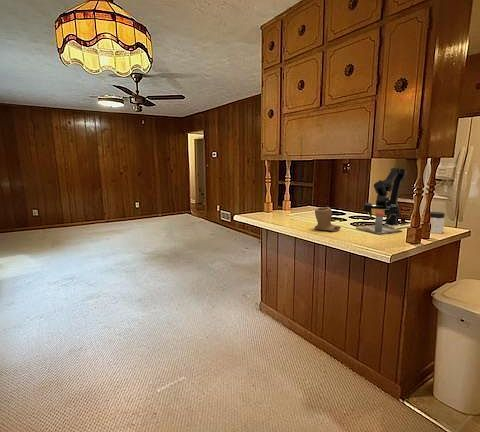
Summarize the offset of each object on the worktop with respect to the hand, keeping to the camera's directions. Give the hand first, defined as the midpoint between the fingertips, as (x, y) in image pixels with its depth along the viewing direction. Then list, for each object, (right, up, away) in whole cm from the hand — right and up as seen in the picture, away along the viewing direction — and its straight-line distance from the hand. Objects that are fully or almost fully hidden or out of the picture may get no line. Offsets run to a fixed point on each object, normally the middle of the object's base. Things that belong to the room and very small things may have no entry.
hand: (379, 218), depth 180 cm
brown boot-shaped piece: (-29, -8, +11) cm, 32 cm away
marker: (0, -8, +1) cm, 8 cm away
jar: (+35, -8, +3) cm, 37 cm away
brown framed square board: (+4, -7, +9) cm, 12 cm away
